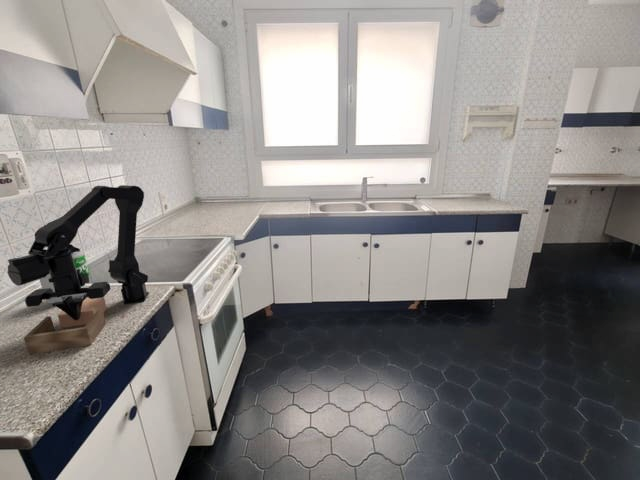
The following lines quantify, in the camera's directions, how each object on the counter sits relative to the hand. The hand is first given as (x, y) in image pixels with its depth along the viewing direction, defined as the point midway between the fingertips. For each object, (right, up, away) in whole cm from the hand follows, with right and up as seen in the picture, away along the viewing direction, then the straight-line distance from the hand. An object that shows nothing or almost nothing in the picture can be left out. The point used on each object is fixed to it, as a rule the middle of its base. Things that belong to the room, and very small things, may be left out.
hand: (77, 319), depth 91 cm
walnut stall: (+2, -4, -4) cm, 6 cm away
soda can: (-25, +7, +33) cm, 42 cm away
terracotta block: (-2, -1, +6) cm, 7 cm away
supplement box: (-19, +3, +18) cm, 27 cm away
